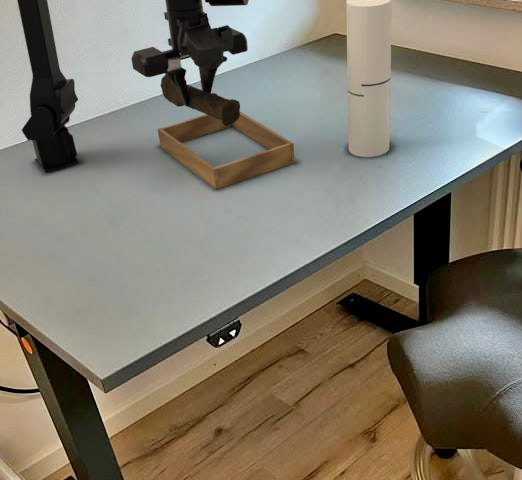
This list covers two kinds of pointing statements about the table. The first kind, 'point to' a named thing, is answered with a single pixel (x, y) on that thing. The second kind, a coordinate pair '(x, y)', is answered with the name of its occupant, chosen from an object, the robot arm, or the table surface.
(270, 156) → the wooden rectangular frame
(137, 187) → the table surface
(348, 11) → the cylindrical container
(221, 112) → the dark brown long piece
